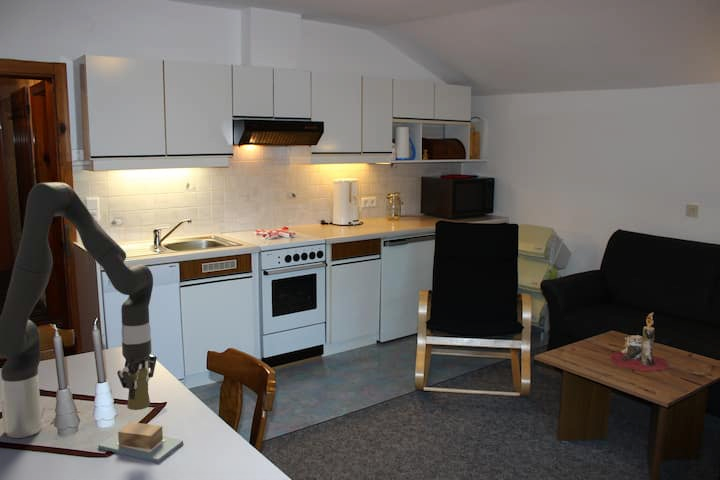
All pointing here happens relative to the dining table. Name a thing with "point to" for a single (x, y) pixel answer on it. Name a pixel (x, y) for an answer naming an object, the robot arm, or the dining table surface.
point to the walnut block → (140, 435)
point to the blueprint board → (155, 454)
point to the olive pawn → (139, 392)
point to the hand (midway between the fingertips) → (139, 397)
